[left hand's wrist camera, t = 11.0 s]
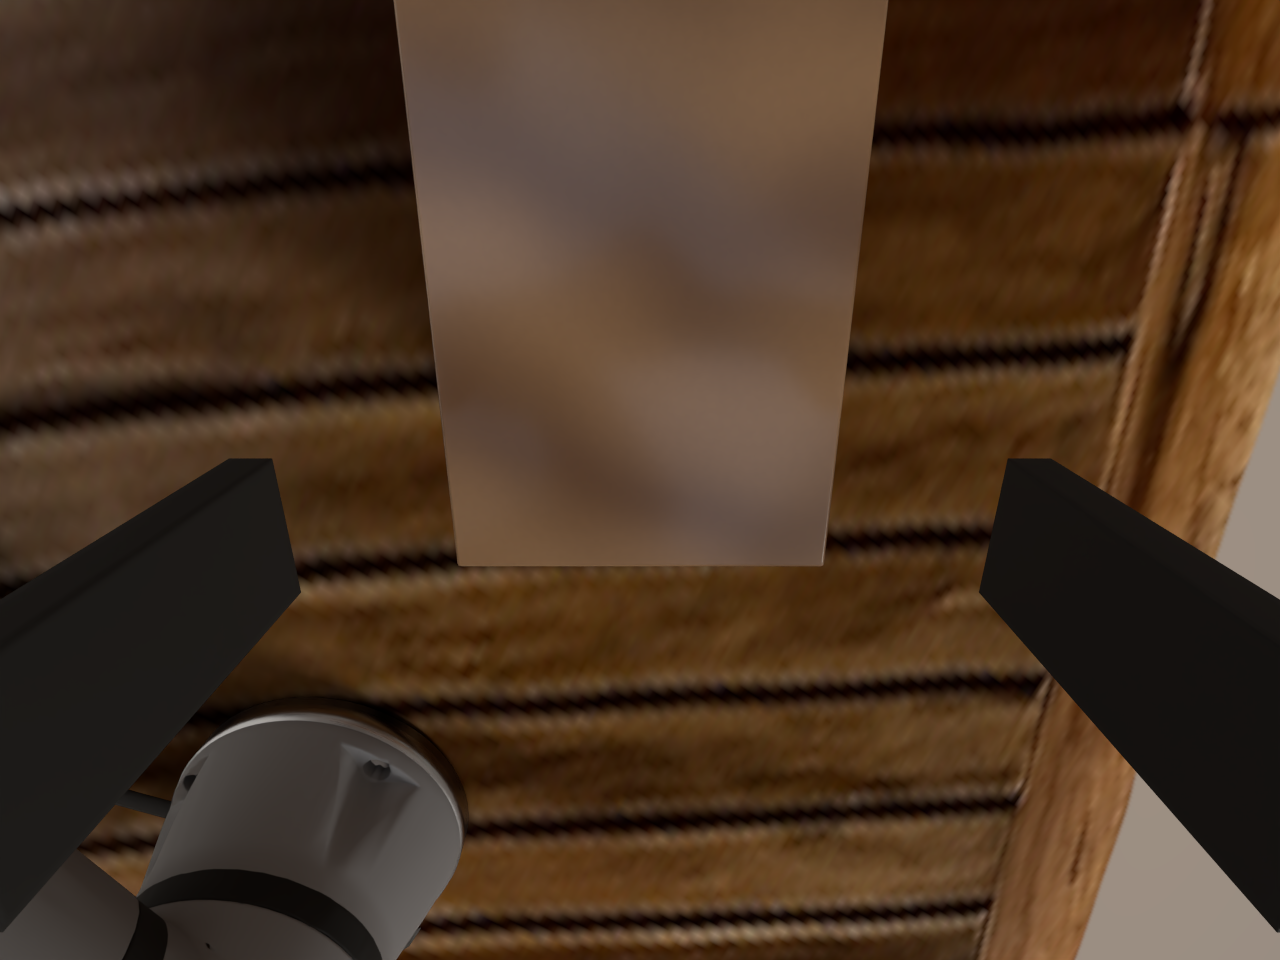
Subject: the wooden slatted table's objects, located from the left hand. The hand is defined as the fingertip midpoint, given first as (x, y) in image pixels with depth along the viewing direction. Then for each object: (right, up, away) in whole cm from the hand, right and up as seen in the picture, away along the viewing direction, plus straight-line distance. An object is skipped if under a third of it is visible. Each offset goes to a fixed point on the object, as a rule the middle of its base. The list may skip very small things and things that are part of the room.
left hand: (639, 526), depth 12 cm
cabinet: (0, +12, +14) cm, 19 cm away
